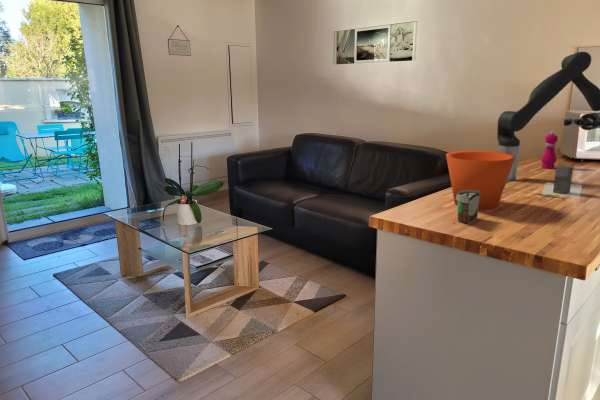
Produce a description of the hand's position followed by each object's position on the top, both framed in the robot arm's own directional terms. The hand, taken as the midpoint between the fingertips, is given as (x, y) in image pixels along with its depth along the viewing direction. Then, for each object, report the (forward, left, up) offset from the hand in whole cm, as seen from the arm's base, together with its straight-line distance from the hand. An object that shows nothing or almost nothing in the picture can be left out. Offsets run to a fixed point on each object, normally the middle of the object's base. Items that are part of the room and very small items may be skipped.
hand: (575, 123), depth 195 cm
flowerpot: (-52, -27, -28) cm, 65 cm away
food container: (-64, -47, -28) cm, 85 cm away
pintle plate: (-9, -11, -28) cm, 32 cm away
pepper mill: (+14, +41, -28) cm, 52 cm away
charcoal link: (-13, -17, -27) cm, 34 cm away
